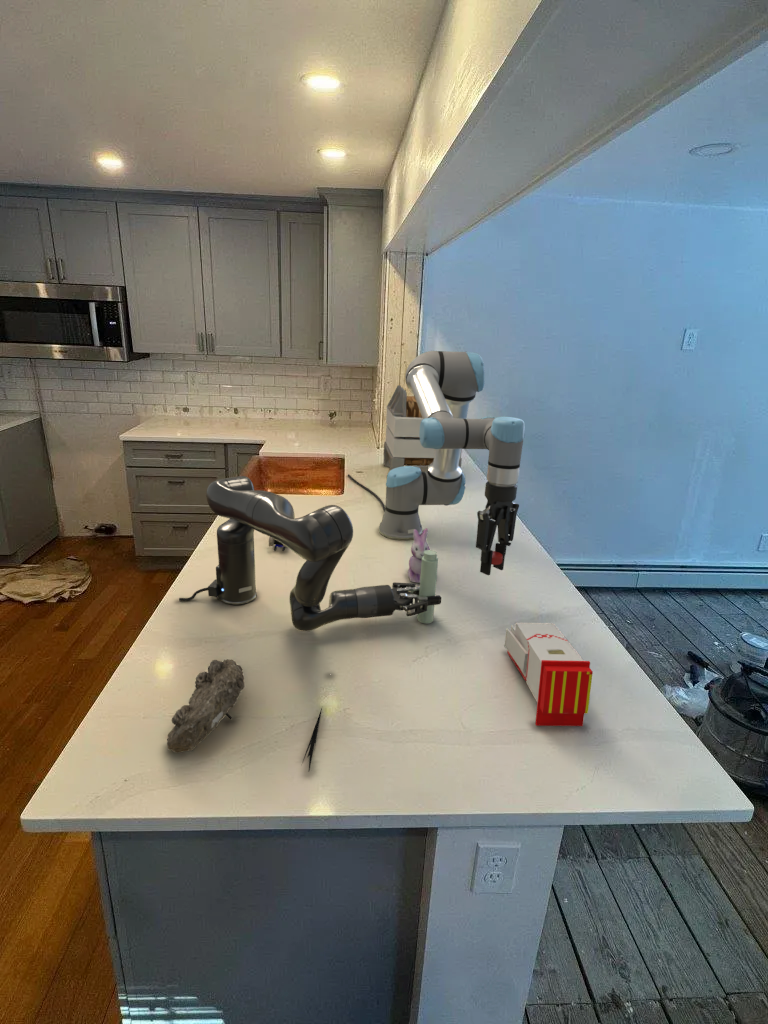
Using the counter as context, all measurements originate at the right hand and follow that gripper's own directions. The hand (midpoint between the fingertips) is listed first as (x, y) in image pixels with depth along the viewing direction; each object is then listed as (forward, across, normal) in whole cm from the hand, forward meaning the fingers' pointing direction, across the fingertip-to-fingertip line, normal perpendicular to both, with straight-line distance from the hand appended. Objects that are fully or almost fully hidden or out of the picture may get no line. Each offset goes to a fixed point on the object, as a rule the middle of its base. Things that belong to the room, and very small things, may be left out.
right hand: (491, 570), depth 144 cm
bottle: (+13, +14, -8) cm, 21 cm away
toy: (+13, +13, +25) cm, 31 cm away
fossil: (+13, +72, -7) cm, 74 cm away
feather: (+13, +57, +6) cm, 59 cm away
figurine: (+13, -2, -27) cm, 30 cm away
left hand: (+6, +12, -7) cm, 15 cm away
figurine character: (+13, +19, -71) cm, 74 cm away
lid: (-4, 0, 0) cm, 4 cm away
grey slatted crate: (+12, -80, -108) cm, 136 cm away
